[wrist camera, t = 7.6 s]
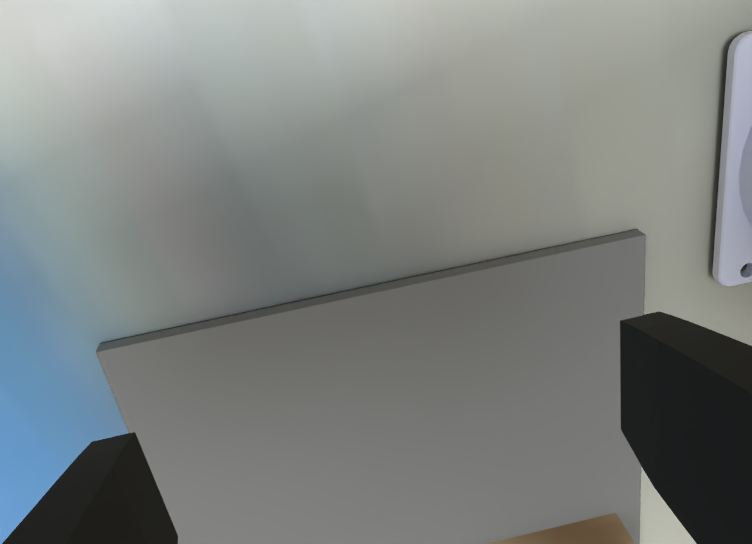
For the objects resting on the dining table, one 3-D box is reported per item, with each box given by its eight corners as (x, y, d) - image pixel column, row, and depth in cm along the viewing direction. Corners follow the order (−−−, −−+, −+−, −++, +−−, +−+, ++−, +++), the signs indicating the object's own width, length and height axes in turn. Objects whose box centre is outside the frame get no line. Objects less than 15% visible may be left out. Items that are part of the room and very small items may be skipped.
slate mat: (637, 229, 21) (645, 234, 21) (631, 622, 29) (637, 633, 29) (100, 343, 20) (96, 352, 19) (251, 719, 28) (251, 732, 28)
